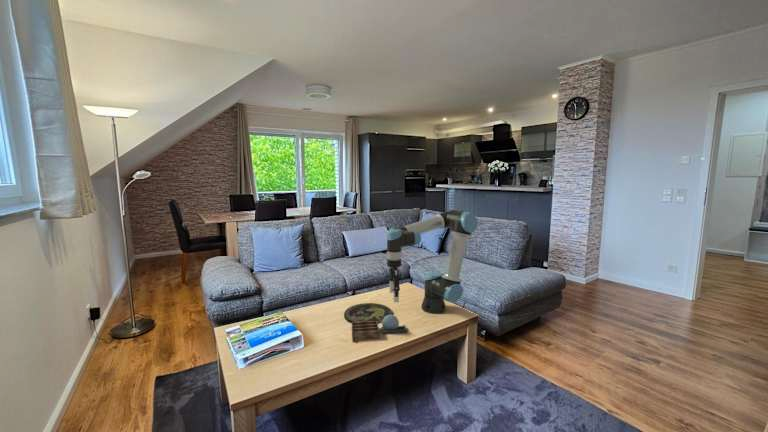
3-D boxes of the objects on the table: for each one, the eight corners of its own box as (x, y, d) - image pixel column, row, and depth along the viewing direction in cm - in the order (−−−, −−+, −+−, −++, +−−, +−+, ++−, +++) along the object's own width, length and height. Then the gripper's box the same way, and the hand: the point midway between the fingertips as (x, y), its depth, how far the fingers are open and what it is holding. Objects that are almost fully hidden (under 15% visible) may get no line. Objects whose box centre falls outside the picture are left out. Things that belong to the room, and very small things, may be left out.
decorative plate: (337, 321, 187) (352, 300, 216) (337, 324, 187) (352, 303, 216) (388, 326, 181) (396, 304, 210) (388, 329, 181) (396, 307, 210)
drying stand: (404, 328, 181) (404, 325, 180) (407, 334, 175) (407, 330, 174) (381, 330, 179) (381, 326, 179) (383, 335, 173) (383, 331, 173)
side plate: (401, 325, 178) (393, 311, 176) (401, 326, 176) (394, 313, 174) (386, 333, 177) (379, 319, 176) (387, 334, 176) (379, 321, 174)
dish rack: (376, 329, 180) (376, 320, 180) (379, 339, 169) (379, 330, 168) (351, 330, 179) (351, 322, 178) (352, 341, 167) (352, 332, 166)
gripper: (384, 253, 183) (384, 289, 186) (390, 265, 159) (390, 306, 161) (397, 252, 184) (396, 288, 187) (405, 265, 160) (405, 306, 162)
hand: (393, 297), depth 174 cm, fingers open, 13 cm apart
